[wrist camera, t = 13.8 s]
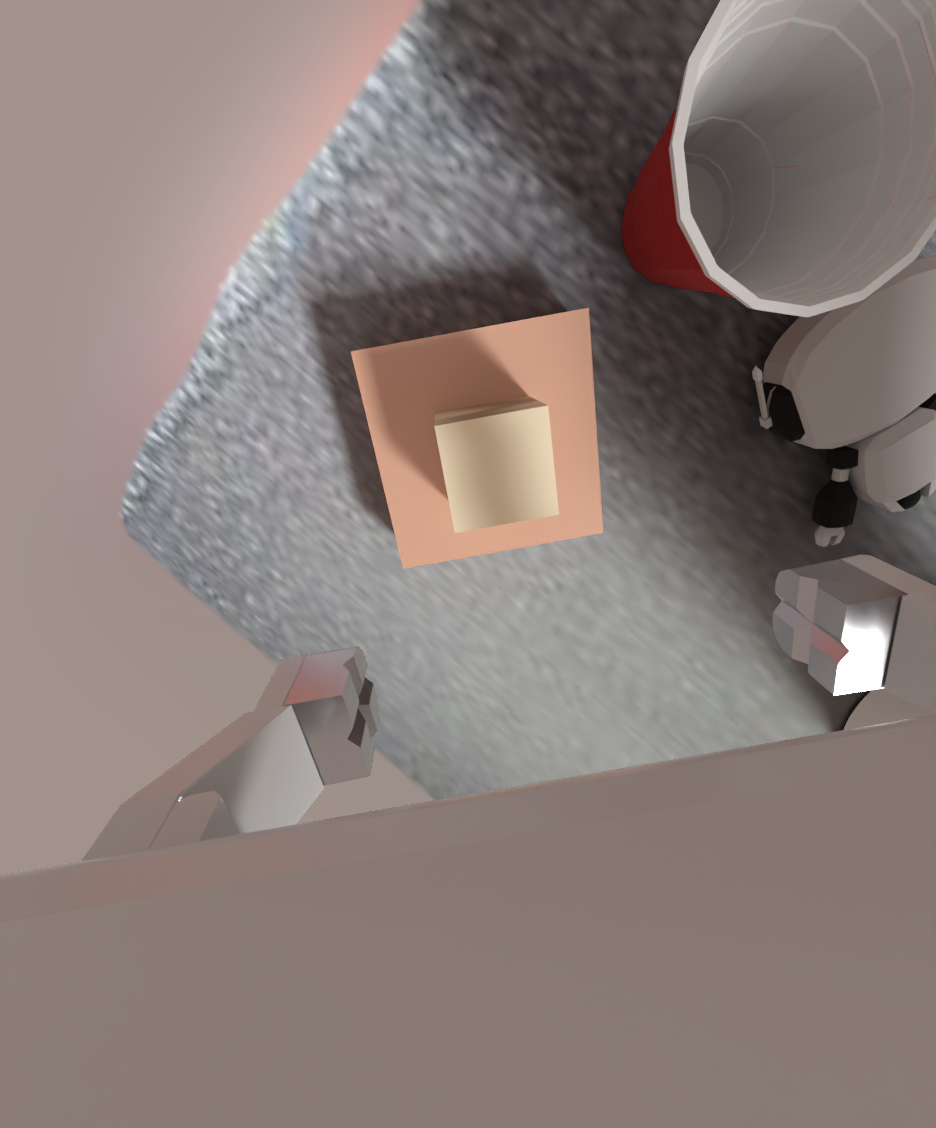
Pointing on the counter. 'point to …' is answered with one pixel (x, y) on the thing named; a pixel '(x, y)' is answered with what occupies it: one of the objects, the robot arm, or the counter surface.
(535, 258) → the counter surface
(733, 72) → the plastic cup
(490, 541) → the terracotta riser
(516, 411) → the maple cube
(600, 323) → the counter surface
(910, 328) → the robot toy
